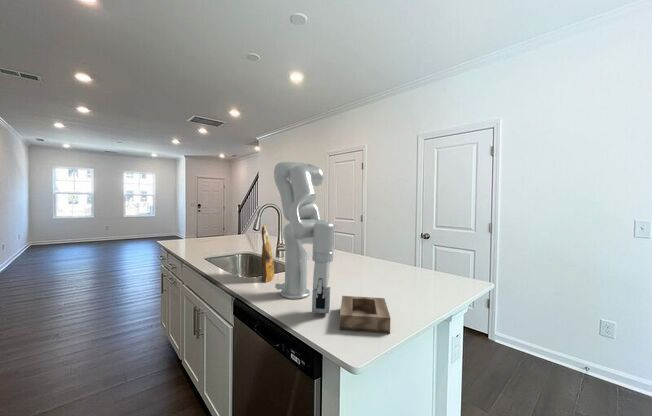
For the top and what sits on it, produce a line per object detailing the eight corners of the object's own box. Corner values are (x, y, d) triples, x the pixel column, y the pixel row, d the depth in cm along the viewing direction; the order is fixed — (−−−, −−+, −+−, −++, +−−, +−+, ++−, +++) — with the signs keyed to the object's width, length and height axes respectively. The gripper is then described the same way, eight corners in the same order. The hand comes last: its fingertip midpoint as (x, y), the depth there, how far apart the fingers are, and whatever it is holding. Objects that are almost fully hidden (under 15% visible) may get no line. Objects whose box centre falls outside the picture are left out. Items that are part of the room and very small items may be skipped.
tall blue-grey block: (311, 312, 101) (312, 290, 100) (313, 307, 105) (314, 286, 105) (328, 313, 100) (329, 291, 100) (329, 308, 105) (330, 287, 104)
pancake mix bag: (256, 283, 137) (257, 226, 137) (263, 273, 157) (264, 223, 156) (270, 283, 138) (271, 226, 137) (275, 273, 157) (276, 223, 156)
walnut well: (339, 330, 90) (339, 314, 90) (341, 308, 108) (342, 295, 108) (390, 333, 89) (390, 318, 89) (384, 311, 107) (384, 298, 106)
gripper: (315, 250, 110) (314, 296, 111) (308, 261, 93) (307, 314, 94) (334, 251, 110) (333, 297, 111) (331, 262, 93) (329, 316, 94)
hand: (321, 305), depth 103 cm, fingers closed on tall blue-grey block, 4 cm apart
